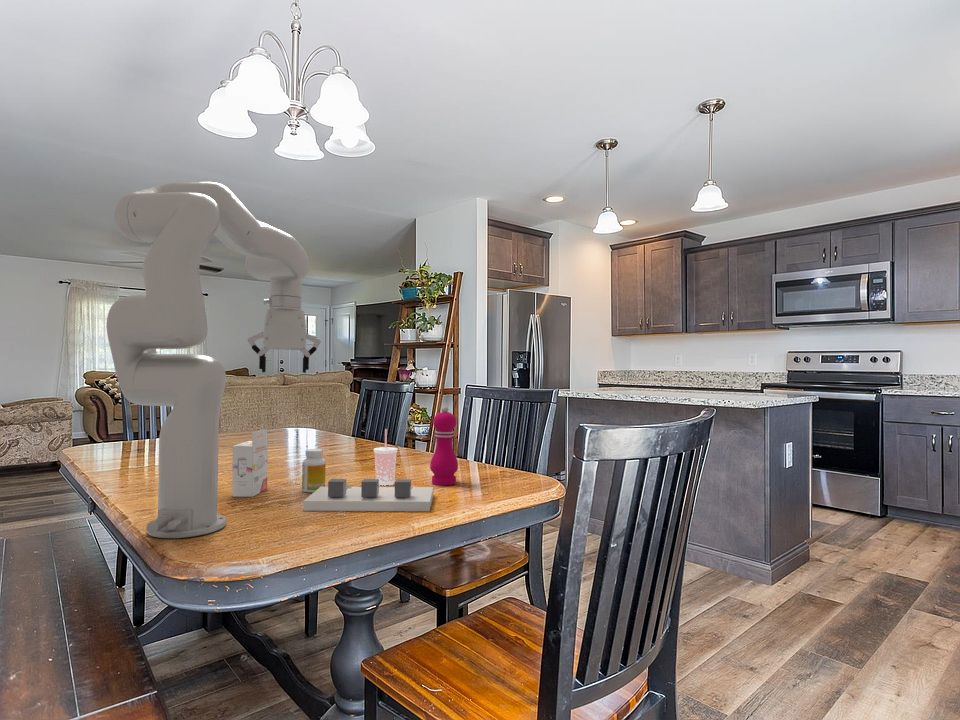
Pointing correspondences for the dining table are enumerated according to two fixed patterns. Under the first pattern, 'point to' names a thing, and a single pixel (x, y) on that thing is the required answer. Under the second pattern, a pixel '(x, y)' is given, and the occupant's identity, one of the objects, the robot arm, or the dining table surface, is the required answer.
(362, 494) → the dark grey cube
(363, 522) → the dining table surface
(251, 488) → the ink cartridge box
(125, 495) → the dining table surface
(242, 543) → the dining table surface
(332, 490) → the dark grey cube
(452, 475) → the pepper mill
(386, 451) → the beverage cup
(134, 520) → the dining table surface
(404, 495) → the dark gray cube
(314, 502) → the switch panel
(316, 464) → the supplement bottle
